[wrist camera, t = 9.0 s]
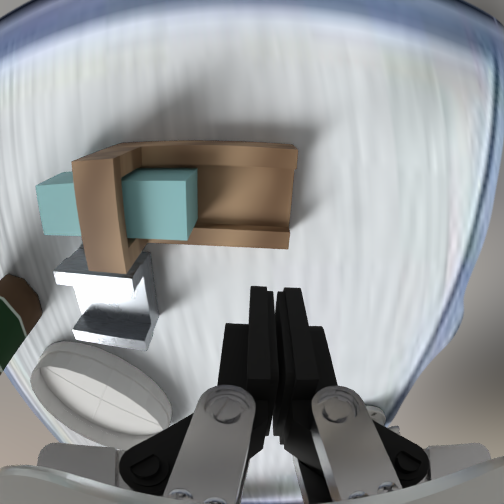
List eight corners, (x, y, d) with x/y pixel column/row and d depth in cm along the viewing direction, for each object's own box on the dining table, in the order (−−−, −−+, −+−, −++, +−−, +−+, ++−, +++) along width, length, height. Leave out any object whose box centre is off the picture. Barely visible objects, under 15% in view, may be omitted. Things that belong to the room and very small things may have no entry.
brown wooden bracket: (292, 144, 22) (310, 162, 15) (284, 233, 26) (295, 283, 19) (121, 142, 22) (71, 161, 15) (127, 226, 26) (88, 270, 19)
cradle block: (150, 249, 27) (131, 278, 22) (159, 317, 30) (146, 350, 26) (78, 245, 27) (53, 271, 22) (94, 310, 30) (76, 339, 26)
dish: (148, 441, 45) (143, 462, 41) (41, 387, 40) (31, 407, 36) (196, 390, 36) (191, 420, 32) (47, 312, 31) (28, 337, 27)
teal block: (197, 168, 21) (185, 181, 18) (197, 218, 23) (187, 240, 20) (62, 172, 21) (35, 185, 18) (68, 216, 23) (44, 234, 19)
